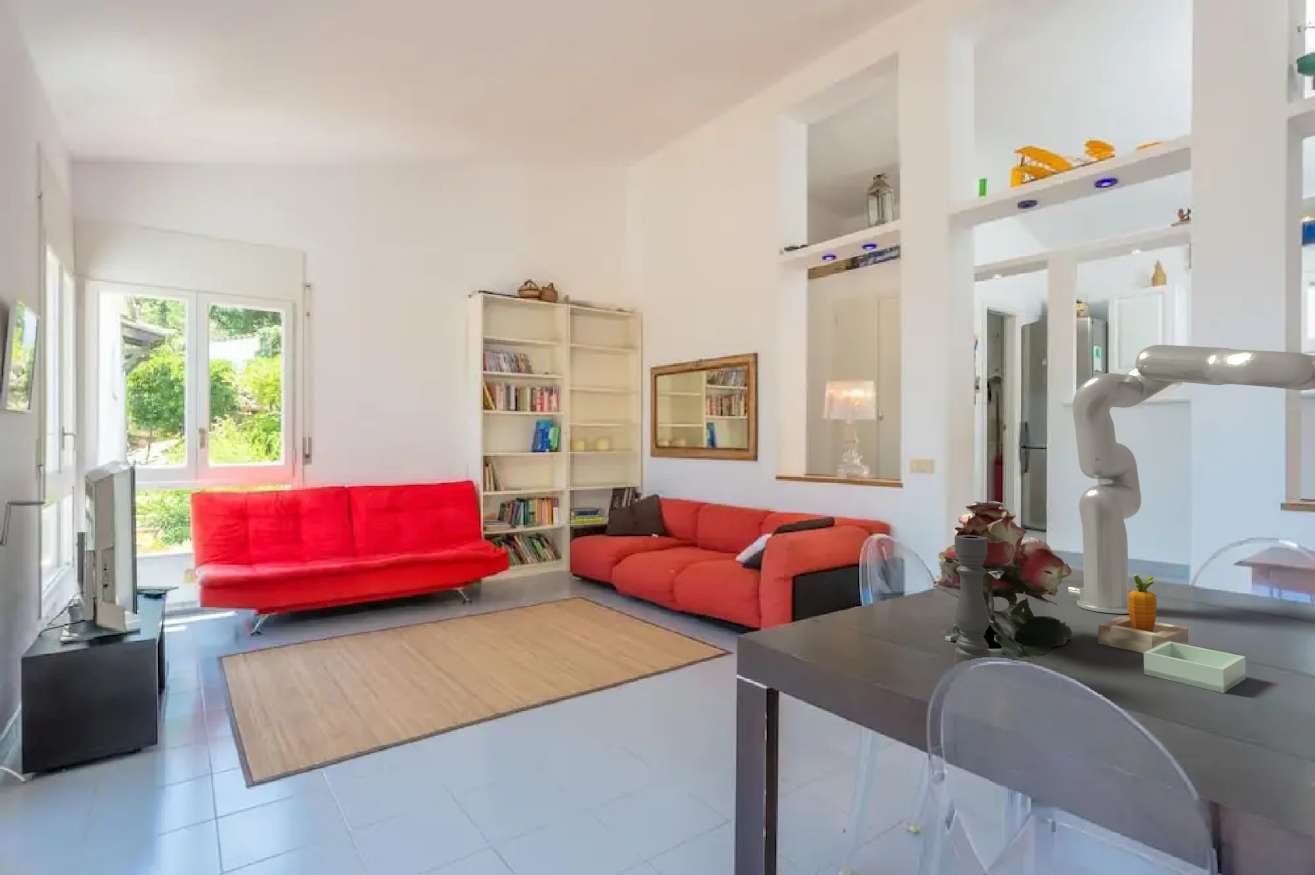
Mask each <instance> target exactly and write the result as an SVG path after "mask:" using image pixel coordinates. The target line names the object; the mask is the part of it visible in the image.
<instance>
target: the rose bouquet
mask: <svg viewBox="0 0 1315 875" xmlns="http://www.w3.org/2000/svg"><path fill="white" fill-rule="evenodd" d="M1003 504H1004V503H1003V502H999V501H995V500H994V501H990V500H989V501H987V502H981V501H974V502H973V503H972V504H971V505H966V506H965V509H966V510H968V511H969V513H964V514H962V515H961V516H960V517H958V518H957V519H958V523H959V524H962V527H960V526H957V527H953V529H952V532H953V534H954V537H955V536H961V535H970V536H982V537H986V538H987V556H986V559H985V561H984V563H983V565H982V567H983V568H985V569H986V574H985V575H983V577H982V582H983V595H984V599H985V603H986V607H987V611H988V615H989V618H990V623H989V627H988V628H987V630H986V631H985V635H984V636H983V638H985V640H986V642H993V640H994V641H995V642H996V643H998V644H999V645H1000V646H1001V648H988V649H987V650H988V651H989V652H993V653H996V654H998V655H1001V656H1004V657H1007V658H1008V659H1010V658H1011V659H1014V660H1013V661H1018V660H1021V661H1028V660H1031V659H1032V656H1033V659H1034V658H1038V657H1040V656H1043V655H1045V654H1046V653H1048V652H1051V649H1052V648H1055V647H1060V646H1063V645H1065V644H1066V643H1067V641H1068V639H1072V638H1073V637H1072V636H1073V631H1072V630H1071V629H1072V628H1071V627H1070V626H1069V625H1066V621H1064V622H1061V619H1057V618H1055V617H1052V616H1050V615H1048V616H1046V615H1038V616H1037V615H1035V616H1034V613H1033V612H1032V609H1031V608H1030V604H1029V600H1028V599H1029V597H1025V599H1023V600H1020V601H1019V602H1018V603H1017V601H1018V597H1017V594H1020V595H1021V594H1022V595H1026V596H1030V597H1031V598H1034V599H1036V600H1037V601H1040V602H1044V603H1047V604H1048V605H1049V603H1051V604H1054V605H1056V606H1057V605H1058V604H1057V603H1055V602H1054V601H1052V600H1048V599H1046V598H1044V597H1043V596H1044V595H1047V594H1048V595H1050V596H1052V597H1054V596H1056V595H1057V593H1058V592H1059V590H1058V586H1059V585H1061V584H1062V579H1064V578H1066V577H1069V576H1071V574H1072V568H1071V567H1070V566H1069V564H1068V563H1065V562H1064V560H1063V559H1062V558H1061V557H1059V555H1057V554H1056V553H1055V552H1054V551H1053V550H1052V548H1051V546H1050V545H1049V544H1048V543H1047V542H1046V541H1043V540H1041V539H1039V538H1037V537H1031V536H1025V534H1026V533H1027V532H1028V531H1027V530H1026V529H1025V528H1024V527H1020V526H1018V525H1017V524H1016V523H1015V522H1014V521H1013V520H1014V519H1015V518H1016V517H1017V515H1016V513H1015V512H1012V511H1010V510H1008V509H1007V508H1006V507H1003ZM1024 536H1025V537H1024ZM956 556H957V555H956V554H955V543H954V544H952V545H950V546H949V547H947V548H946V549H945V550H944V551H940V552H939V553H938V558H939V560H938V566H939V570H940V575H938V574H937V575H936V578H937V580H936V581H933V583H932V587H933V588H935V589H938V590H940V591H942V592H944V593H946V594H949V595H950V596H953V597H954V598H957V599H959V596H960V591H961V586H960V575H959V573H958V572H957V571H956V569H957V567H958V566H960V563H959V561H958V559H957V557H956ZM994 598H1003V599H1005V600H1006V601H1007V602H1008V606H1007V608H1005V609H1004V610H998V611H997V610H995V601H994ZM959 631H960V629H959V628H958V627H957V625H956V623H955V621H954V622H953V624H952V626H951V627H950V628H948V629H947V630H944V631H942V630H941V631H940V634H950V635H946V636H944V641H947V642H954V641H955V642H956V641H957V639H959V637H960V635H961V633H960V632H959ZM1029 656H1031V657H1029ZM1011 659H1010V660H1011Z"/></svg>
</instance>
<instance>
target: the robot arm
mask: <svg viewBox="0 0 1315 875" xmlns="http://www.w3.org/2000/svg"><path fill="white" fill-rule="evenodd" d="M1134 364H1135V367H1134V368H1132V369H1131V370H1129V371H1127V372H1126V373H1124V374H1121V373H1114V372H1113V373H1112V372H1107V373H1106V372H1105V373H1101V374H1097V375H1095V376H1092V377H1090V378H1089V379H1087V380H1086V381H1084V382H1083V383H1082V384H1081V385H1080V386H1079V388H1078V389H1077V390H1076V392H1075V394H1074V396H1073V399H1072V400H1073V401H1072V414H1073V423H1074V429H1075V440H1076V449H1077V455H1078V463H1079V464H1078V465H1079V469H1080V470H1081V472H1082V474H1083V475H1084V476H1086V477H1088V478H1089V479H1094V480H1097V484H1096V485H1094V486H1091V487H1089V488H1088V489H1085V491H1084V492H1083V493H1082V494H1081V496H1080V498H1079V501H1078V510H1079V516H1080V521H1081V527H1082V546H1083V547H1082V550H1083V552H1082V553H1083V554H1082V555H1083V558H1082V559H1083V586H1082V587H1077V586H1076V587H1075V586H1068V588H1067V594H1068V595H1070V596H1077V597H1078V598H1079V599H1077V600H1076V604H1077V606H1078V607H1079V608H1082V609H1084V610H1088V611H1091V612H1092V611H1093V612H1097V613H1098V612H1099V613H1105V614H1116V615H1118V614H1119V615H1120V614H1125V615H1126V614H1129V608H1128V594H1129V552H1128V551H1129V548H1128V544H1129V543H1128V542H1129V541H1128V532H1127V528H1126V524H1125V520H1126V519H1129V518H1132V517H1133V516H1135V515H1136V514H1138V512H1139V510H1140V508H1141V505H1142V495H1141V494H1142V493H1141V486H1140V479H1139V478H1140V477H1139V472H1138V466H1137V460H1136V457H1135V456H1134V453H1133V452H1132V451H1131V449H1130V448H1129V447H1128V446H1126V445H1124V444H1122V443H1118V442H1117V437H1116V432H1115V424H1114V422H1113V421H1114V420H1113V418H1112V416H1111V412H1110V411H1111V408H1130V407H1134V406H1137V405H1139V404H1141V403H1143V402H1145V401H1146V400H1148V399H1150V398H1152V397H1153V396H1154V395H1156V394H1158V393H1160V392H1161V391H1163V390H1165V389H1166V388H1168V387H1169V386H1171V385H1173V384H1175V383H1176V382H1178V383H1188V384H1198V385H1209V386H1210V385H1211V386H1223V385H1238V386H1239V385H1243V386H1250V387H1251V386H1252V387H1253V386H1255V387H1265V388H1276V389H1285V390H1293V391H1311V390H1315V355H1312V354H1306V353H1302V352H1295V351H1294V352H1293V351H1277V350H1276V351H1274V350H1273V351H1271V350H1251V349H1234V348H1229V347H1215V346H1214V347H1213V346H1192V345H1189V346H1188V345H1174V344H1154V345H1150V346H1147V347H1145V348H1143V349H1142V350H1141V351H1140V352H1138V354H1137V355H1136V358H1135V363H1134Z"/></svg>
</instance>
